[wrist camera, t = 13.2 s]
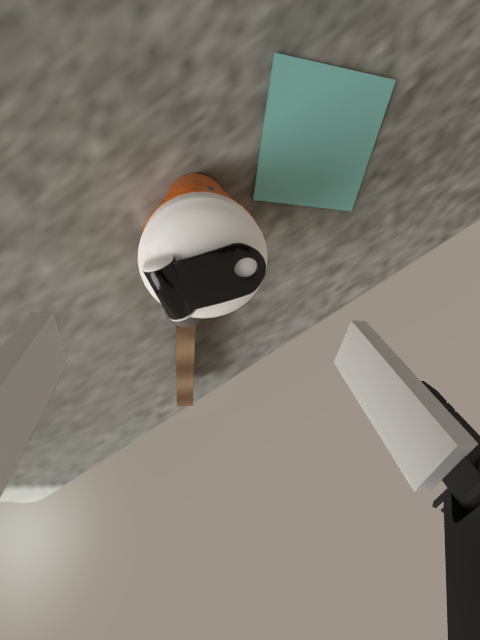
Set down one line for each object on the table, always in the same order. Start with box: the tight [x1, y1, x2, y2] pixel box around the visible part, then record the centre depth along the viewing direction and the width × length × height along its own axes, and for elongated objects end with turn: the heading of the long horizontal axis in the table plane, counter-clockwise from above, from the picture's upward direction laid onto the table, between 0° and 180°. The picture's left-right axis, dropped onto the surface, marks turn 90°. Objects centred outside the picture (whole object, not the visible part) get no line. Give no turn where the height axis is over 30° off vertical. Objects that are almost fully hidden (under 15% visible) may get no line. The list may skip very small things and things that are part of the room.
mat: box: [252, 53, 396, 211], centre depth 31 cm, size 13×13×1 cm
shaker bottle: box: [138, 173, 268, 321], centre depth 25 cm, size 9×9×20 cm
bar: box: [165, 312, 204, 406], centre depth 40 cm, size 21×5×6 cm, turn 173°
